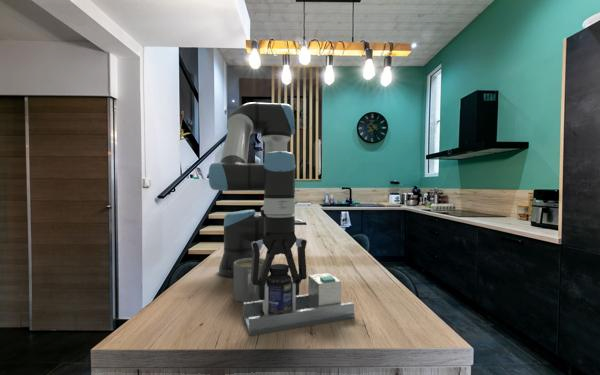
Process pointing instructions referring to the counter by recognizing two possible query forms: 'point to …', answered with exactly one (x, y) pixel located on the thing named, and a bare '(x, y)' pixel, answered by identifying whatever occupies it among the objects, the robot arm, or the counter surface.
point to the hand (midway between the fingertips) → (279, 310)
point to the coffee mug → (246, 280)
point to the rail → (302, 308)
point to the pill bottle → (279, 289)
